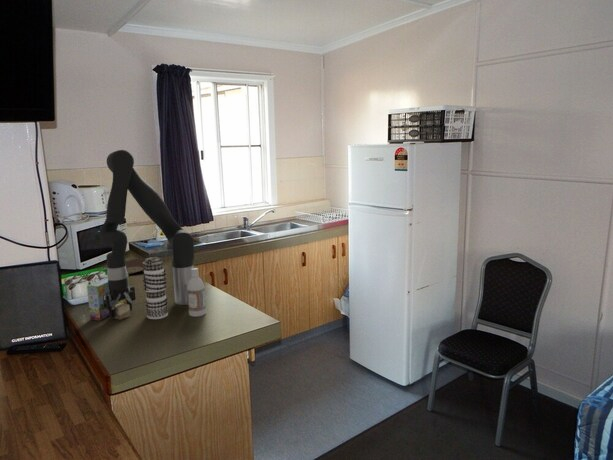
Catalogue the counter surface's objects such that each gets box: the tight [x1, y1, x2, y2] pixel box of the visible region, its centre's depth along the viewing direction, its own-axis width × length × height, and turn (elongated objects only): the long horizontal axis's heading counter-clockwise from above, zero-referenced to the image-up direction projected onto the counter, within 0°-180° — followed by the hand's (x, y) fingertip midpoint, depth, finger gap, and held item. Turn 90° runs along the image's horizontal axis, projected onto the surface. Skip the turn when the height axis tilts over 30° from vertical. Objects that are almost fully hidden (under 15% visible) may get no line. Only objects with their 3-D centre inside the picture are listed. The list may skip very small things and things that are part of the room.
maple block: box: [114, 303, 131, 321], centre depth 184 cm, size 5×5×5 cm
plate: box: [125, 257, 148, 275], centre depth 258 cm, size 28×28×4 cm
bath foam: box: [187, 267, 207, 317], centre depth 184 cm, size 7×7×20 cm
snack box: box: [86, 272, 130, 322], centre depth 189 cm, size 21×6×15 cm, turn 168°
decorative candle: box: [142, 256, 169, 320], centre depth 182 cm, size 9×9×25 cm
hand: (121, 314), depth 184 cm, fingers open, 7 cm apart
